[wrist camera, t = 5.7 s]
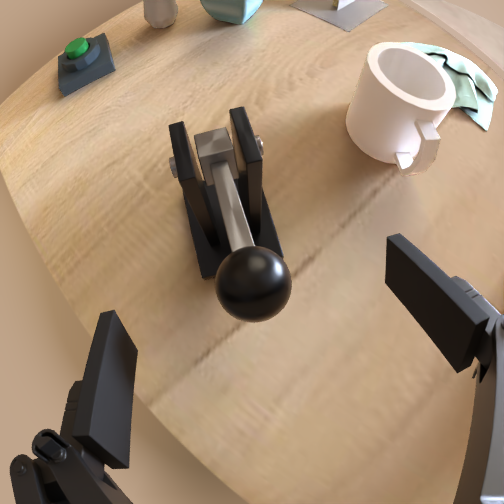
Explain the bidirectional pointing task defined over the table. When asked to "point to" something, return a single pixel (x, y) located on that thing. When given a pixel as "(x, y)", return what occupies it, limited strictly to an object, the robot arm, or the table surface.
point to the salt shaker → (160, 12)
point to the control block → (85, 65)
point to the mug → (400, 106)
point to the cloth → (465, 83)
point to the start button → (77, 48)
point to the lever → (241, 241)
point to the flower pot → (231, 9)
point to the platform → (341, 10)
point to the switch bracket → (206, 200)
